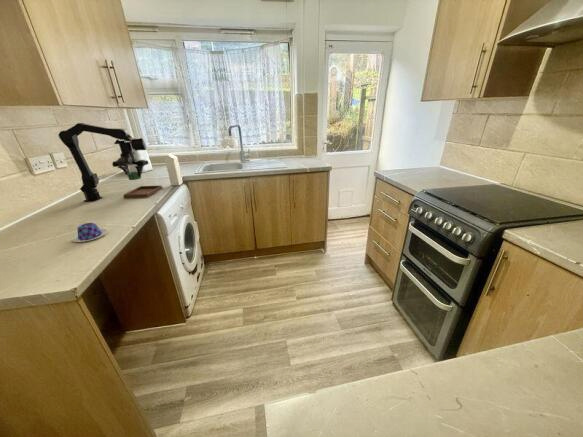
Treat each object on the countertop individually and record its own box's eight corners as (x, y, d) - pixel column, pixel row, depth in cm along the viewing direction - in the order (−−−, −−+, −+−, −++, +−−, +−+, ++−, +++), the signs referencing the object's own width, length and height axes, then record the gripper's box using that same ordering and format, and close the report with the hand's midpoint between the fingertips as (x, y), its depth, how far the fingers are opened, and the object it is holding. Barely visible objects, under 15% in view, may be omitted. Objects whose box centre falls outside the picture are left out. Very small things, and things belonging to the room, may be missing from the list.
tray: (124, 197, 149) (123, 194, 148) (141, 189, 166) (140, 186, 165) (147, 197, 149) (146, 194, 148) (162, 188, 166) (161, 185, 165)
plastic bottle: (155, 169, 224) (146, 137, 213) (142, 173, 211) (133, 139, 199) (141, 168, 227) (132, 137, 216) (128, 172, 214) (117, 139, 203)
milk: (171, 185, 172) (163, 153, 163) (174, 183, 177) (167, 152, 168) (179, 185, 172) (172, 153, 163) (183, 183, 177) (176, 152, 168)
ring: (126, 180, 148) (125, 174, 147) (133, 177, 154) (131, 172, 153) (137, 179, 148) (135, 174, 147) (143, 177, 154) (141, 171, 153)
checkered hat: (67, 246, 95) (62, 234, 93) (78, 233, 105) (73, 222, 103) (104, 239, 99) (99, 228, 97) (110, 228, 110) (106, 217, 107)
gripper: (101, 154, 137) (110, 181, 144) (134, 153, 137) (142, 180, 143) (114, 151, 147) (123, 176, 154) (145, 150, 147) (152, 175, 153)
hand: (134, 177), depth 151 cm, fingers closed on ring, 6 cm apart
